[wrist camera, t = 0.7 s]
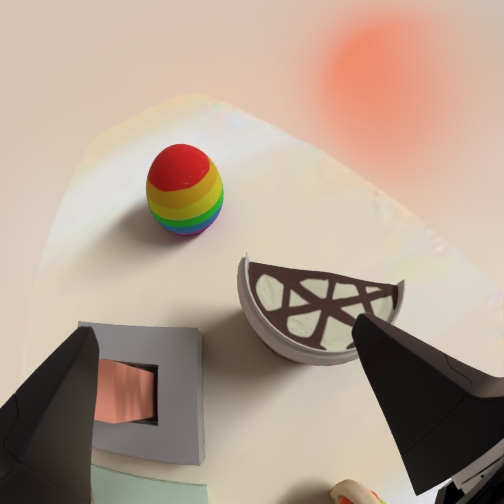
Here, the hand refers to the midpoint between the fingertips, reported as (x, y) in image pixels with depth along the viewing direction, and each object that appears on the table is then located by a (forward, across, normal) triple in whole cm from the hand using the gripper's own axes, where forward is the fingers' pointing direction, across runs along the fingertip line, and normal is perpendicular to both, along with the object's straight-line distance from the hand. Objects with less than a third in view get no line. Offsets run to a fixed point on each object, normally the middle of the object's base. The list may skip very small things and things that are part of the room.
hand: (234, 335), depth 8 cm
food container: (+10, -9, +12) cm, 18 cm away
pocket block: (+9, +6, +16) cm, 20 cm away
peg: (+9, +6, +16) cm, 20 cm away
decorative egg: (+25, +1, +5) cm, 25 cm away
